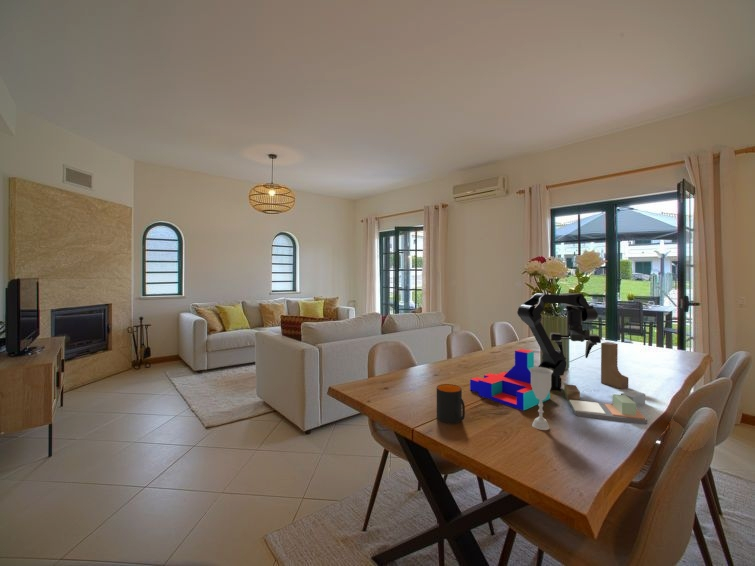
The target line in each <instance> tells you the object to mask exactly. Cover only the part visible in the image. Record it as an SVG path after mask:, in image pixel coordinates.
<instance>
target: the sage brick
mask: <svg viewBox="0 0 755 566" xmlns="http://www.w3.org/2000/svg"><path fill="white" fill-rule="evenodd" d="M611 404H612V405H613V406H614V407H615V408H616V409H617V410H618V411H619V412H620V413H621V414H623V415H634V416H636V409H637V406H636V403H635V402H634V401H632V400H631V399H630V398H628V397H627V396H626V395H621V394H613V393H612V403H611Z"/></svg>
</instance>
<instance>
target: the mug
mask: <svg viewBox="0 0 755 566" xmlns="http://www.w3.org/2000/svg"><path fill="white" fill-rule="evenodd" d="M462 391H463V390H462V387H461V386H459V385H457V384H452V383H451V384H450V383H444V384H443V383H442V384H439V385H437V386H436V419H437V420H438V422H441V423H443V422H444V424H448V423H450V424H449V425H451V424H452V425H454V424H458V423H460V422H461V421H464V419H465V415H466V411H465V410H466V409H465V408H466V407H465V402H464V399H463V397H462V396H463V394H462V393H463V392H462Z"/></svg>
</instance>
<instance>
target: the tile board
mask: <svg viewBox="0 0 755 566" xmlns="http://www.w3.org/2000/svg"><path fill="white" fill-rule="evenodd" d="M568 403H569V406H570V408H571V409H572V411H573V413H574V415H575V416H577V417H584V418H591V419H592V418H594V419H601V420H608V421H609V420H610V421H616V422H617V421H618V422H625V423H627V422H628V423H634V424H641V425H642V424H643V425H647V424H648V420H647V418H646V417H645V416H644V415H643V414H642V413H641V412H640V411H639V409H637V408H636V416H634V415H623V414H621V413H620V412H619V411H618V410H617V409H616V408H615V407H614V406H613V405H612V403H606V402H605V403H604V402H603V403H601V402H594V401H585V400H584V401H583V400H580V401H577V400H569V401H568Z"/></svg>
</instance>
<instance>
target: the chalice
mask: <svg viewBox="0 0 755 566" xmlns="http://www.w3.org/2000/svg"><path fill="white" fill-rule="evenodd" d="M529 370H530V372H531V386H532V389H533V392H534V394H535V396H536V398H537V399H539V404H537V405H538V410H537V412H538V416H537V417H535V418H534V420H533V422H532V423H531V424H532V428H534V429H537V430H539V431H540V430H541V431H548V430H550V425H549V423H548V421H547V419H546V418H544V417H543V414H544V413H545V411H544V409H543V407H544V402H542V401H543V400H544V399H546V397H547V395H548V394H549V391H550V392H551V390H552V389H551V374H552V373H553V371H552V370H553V369H552V368H549V369H548V368H542V367H538V366H534V367H532V368H530V369H529Z"/></svg>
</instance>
